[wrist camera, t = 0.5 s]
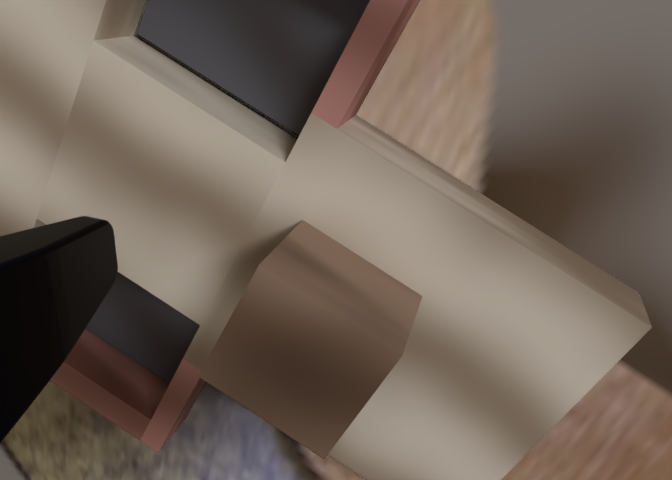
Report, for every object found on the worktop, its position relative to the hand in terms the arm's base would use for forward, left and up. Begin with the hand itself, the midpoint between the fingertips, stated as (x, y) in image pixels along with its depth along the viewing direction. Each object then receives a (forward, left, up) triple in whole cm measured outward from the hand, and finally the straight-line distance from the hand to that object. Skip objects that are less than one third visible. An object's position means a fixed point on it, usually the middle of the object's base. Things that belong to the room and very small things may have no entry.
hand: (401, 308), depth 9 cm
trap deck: (-8, +9, -14) cm, 19 cm away
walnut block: (-8, +1, -12) cm, 14 cm away
